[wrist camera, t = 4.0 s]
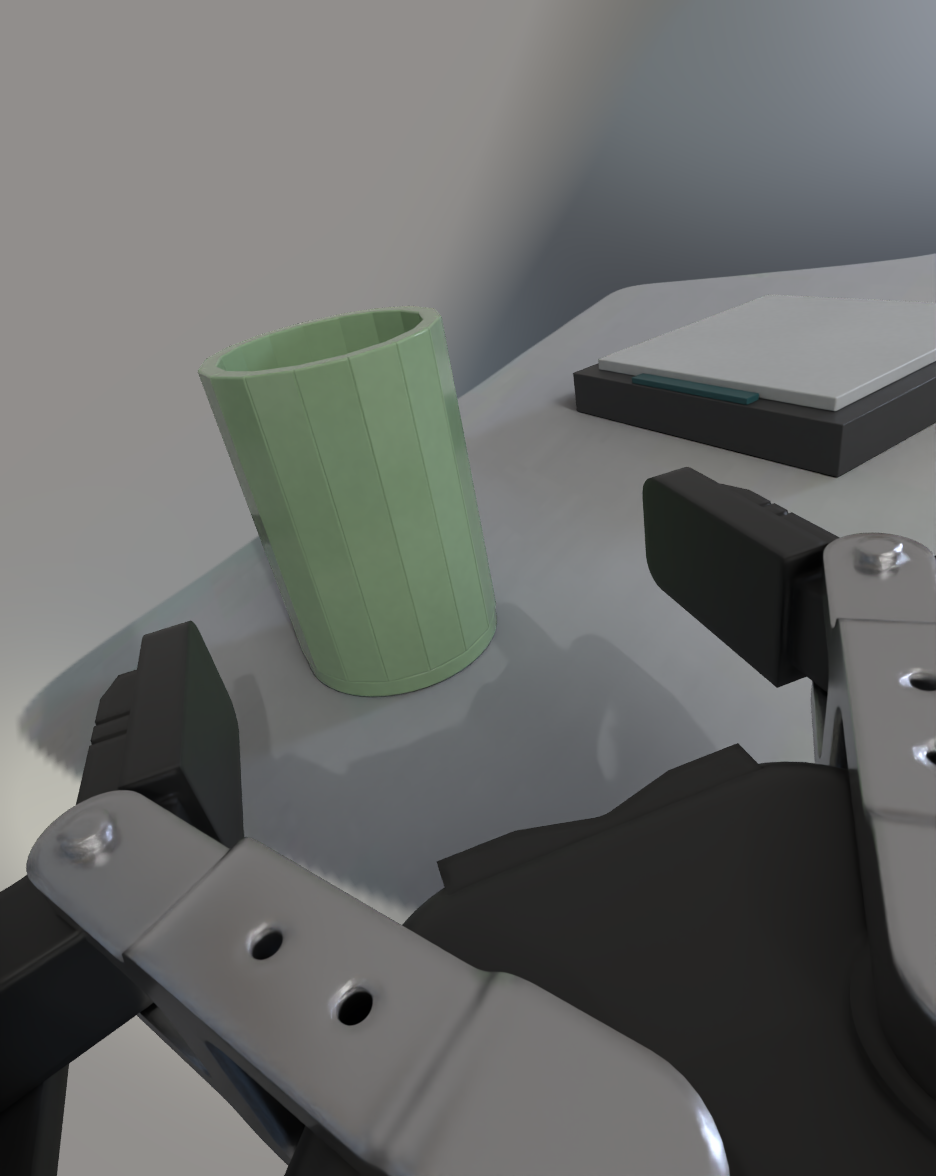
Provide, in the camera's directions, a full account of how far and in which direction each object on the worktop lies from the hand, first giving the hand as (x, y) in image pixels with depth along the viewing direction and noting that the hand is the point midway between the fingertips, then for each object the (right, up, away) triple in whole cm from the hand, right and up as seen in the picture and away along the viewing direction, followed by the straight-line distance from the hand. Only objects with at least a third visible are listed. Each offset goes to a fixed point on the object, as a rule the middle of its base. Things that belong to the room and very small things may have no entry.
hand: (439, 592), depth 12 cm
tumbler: (-2, -1, +12) cm, 12 cm away
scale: (+18, +11, +25) cm, 33 cm away
